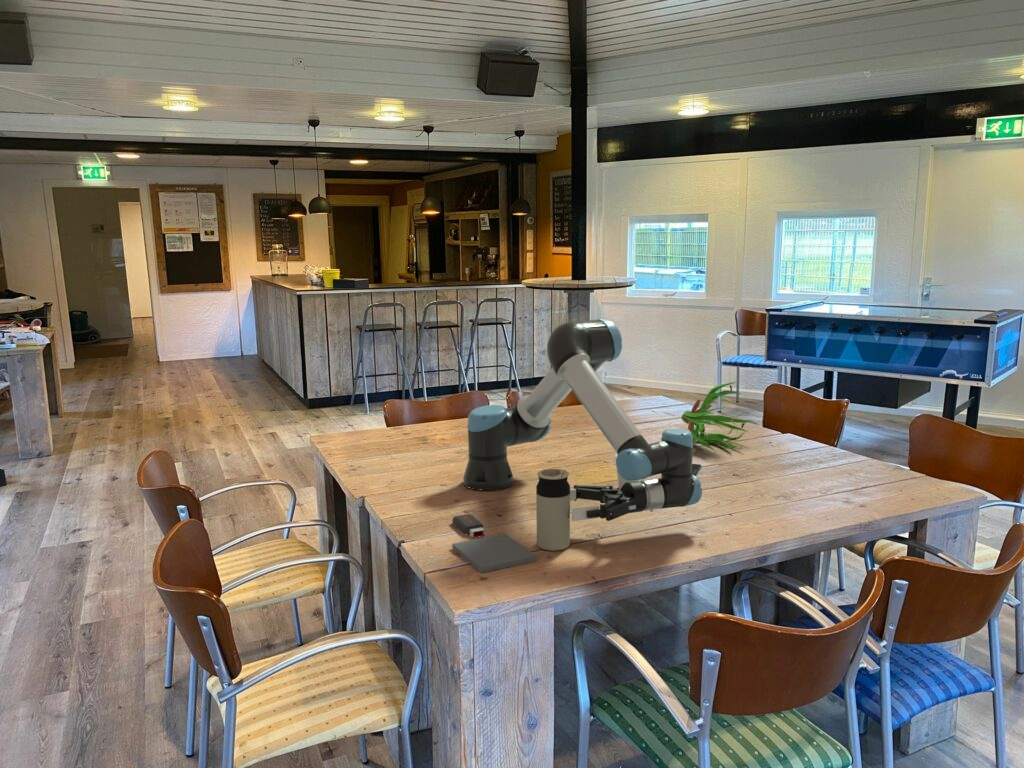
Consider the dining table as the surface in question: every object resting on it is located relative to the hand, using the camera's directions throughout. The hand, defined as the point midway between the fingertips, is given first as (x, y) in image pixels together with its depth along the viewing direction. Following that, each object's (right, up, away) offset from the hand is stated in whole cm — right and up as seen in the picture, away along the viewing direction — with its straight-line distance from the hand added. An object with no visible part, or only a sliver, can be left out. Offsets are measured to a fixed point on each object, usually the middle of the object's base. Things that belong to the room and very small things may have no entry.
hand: (561, 505), depth 180 cm
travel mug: (-2, -10, +2) cm, 10 cm away
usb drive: (-22, -9, +13) cm, 27 cm away
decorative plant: (+60, +7, +93) cm, 111 cm away
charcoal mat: (-16, -11, -3) cm, 20 cm away
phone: (+44, +1, +61) cm, 75 cm away
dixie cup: (+23, -2, +44) cm, 50 cm away
